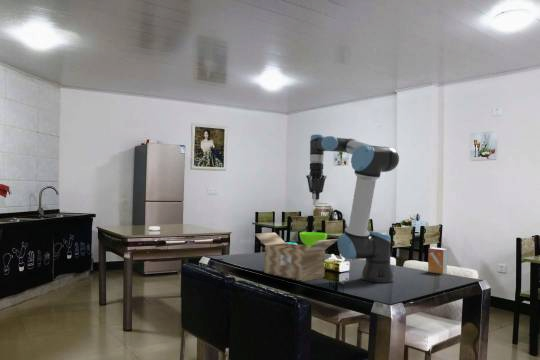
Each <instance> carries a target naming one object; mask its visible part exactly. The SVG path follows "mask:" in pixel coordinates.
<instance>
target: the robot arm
mask: <svg viewBox="0 0 540 360" xmlns="http://www.w3.org/2000/svg"><path fill="white" fill-rule="evenodd" d="M324 152H336V153H337V152H339V153H347V154H350V155H351V159H350V163H351V167H352V169H353V170H354V175H355V176H356V182H355V188H354V194H353V199H352V204H351V212H350V215H349V217H350V218H349V223H348V226H347V227H345V228H344V234H340V235H339V237H338V238H337V239H338V241H337V248H338V252H339V254H340V255H341V257H342V258H344V259H345V260H352V261H353V260H364V259H365V264H364V266H363V269H362V273H361V279H362V280H363V281H365V282H371V283H379V284H380V283H381V284H386V283H392V282H393V283H394V282H395V280H394V279H395V277H394V272H393V270H392V267H391V249H392V248H391V247H392V246H391V245H392V242H391V241H392V239H391V235H390V234H388V233H384V232H377V231H373V230H372V231H371V230H368V226H369V222H370V221H369V220H370V217H371V210H372V205H373V198H374V195H375V189H376V188H375V187H376V182H377V180H378V179H380V177H381V173H387V172H391V171H393V170H394V169H396V168H397V167H398V165H399V162H400V156H399V153H398V152H397V151H396V149H395V148H393V147H390V146H389V147H388V146H382V145H381V146H379V145H372V144H368V143H365V142H361V141H358V140H356V139H353V138H345V137H344V138H343V137H335V136H333V135H328V136H324V135H323V134H319V133H317V134H312V135H311V136H310V142H309V162H310V163H309V174H307V175H306V177H305V178H306V179H307V185H308V191H309V193H311V195H312V197H311V198H312V206H319V200H320V194H321V193H323V191H324V186H325V181H326V179H327V177H328V176H327V175H325V174H324V172H323V170H324V155H325V154H324Z"/></svg>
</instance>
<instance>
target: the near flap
mask: <svg viewBox="0 0 540 360" xmlns="http://www.w3.org/2000/svg"><path fill="white" fill-rule="evenodd" d="M337 242H338V238H333V239H326V240H320V241H317V242H316V243H314V244H313V245H312V246H310V247H309V248H308V249H306V250H305V251H304V252H309V251H317V250H325V251H326V250H327V249H328V248H329V247H330V246H333V244H335V243H337Z"/></svg>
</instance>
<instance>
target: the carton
mask: <svg viewBox="0 0 540 360" xmlns="http://www.w3.org/2000/svg"><path fill="white" fill-rule="evenodd" d="M309 247H310V246H306V245H303V244H298V245H296V244H289V243H286V242H285V243H283V244H272V245H264V273H265V274H269V275H272V274H273V275H272V276H277V275H278V276H277V277H282V278H286V277H287V278H286V279H291V278H292V279H291V280H295V279H296V280H295V281H300V280H301V281H300V282H306V281H311V280H316V279H321V278H325V271H326V270H325V264H326V262H325V261H326V256H325V255H326V249H325V250H317V251H309V252H304V251H305V250H306V249H308V248H309Z"/></svg>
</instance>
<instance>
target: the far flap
mask: <svg viewBox="0 0 540 360" xmlns="http://www.w3.org/2000/svg"><path fill="white" fill-rule="evenodd" d="M254 235H255V237H256V238H257V239H258V240H259V241H260V242H261V244H263V245H264V246H265V245H272V244H283V243H286V242H285V241H284V240H283V238H282V237H280V235H279V234H277V233H276V232H262V233H261V232H260V233H254Z"/></svg>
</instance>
